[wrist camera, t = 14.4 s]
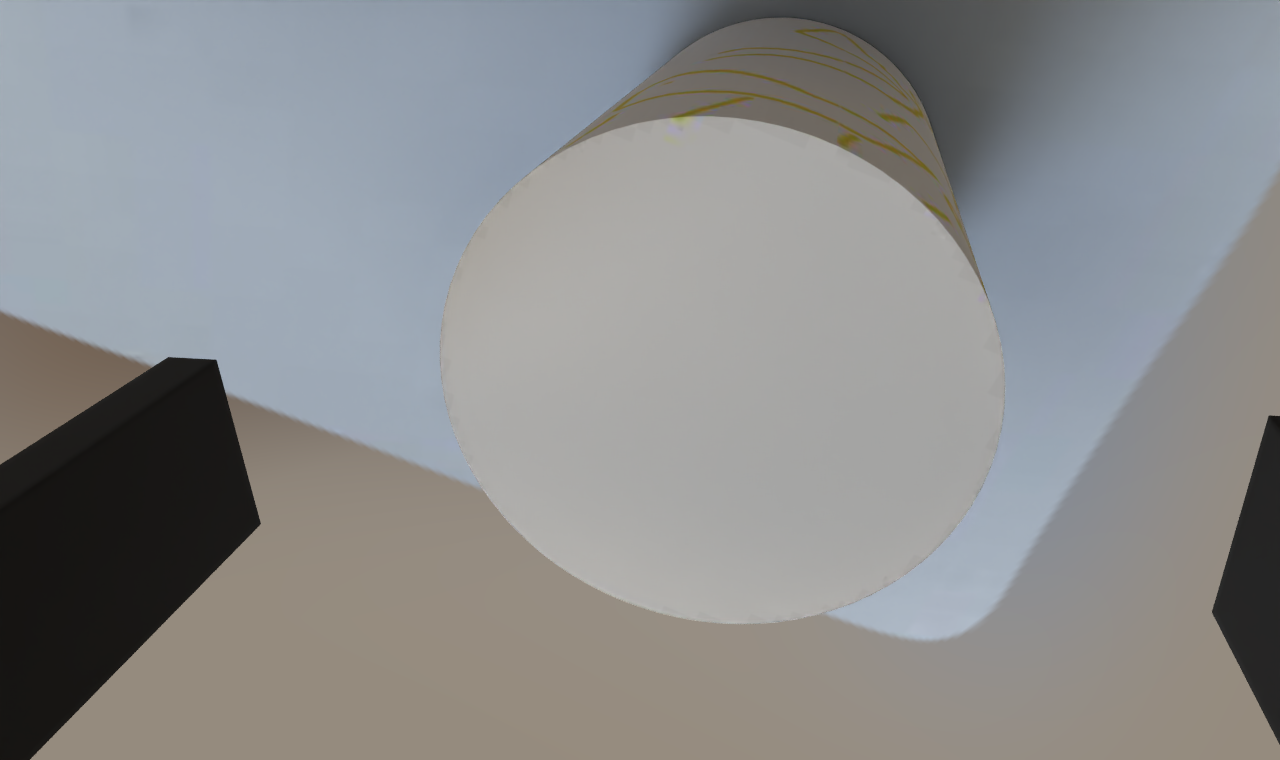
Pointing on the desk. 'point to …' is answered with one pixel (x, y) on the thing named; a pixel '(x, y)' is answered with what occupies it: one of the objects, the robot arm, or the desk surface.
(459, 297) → the cream cylinder
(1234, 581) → the robot arm
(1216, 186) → the desk surface
